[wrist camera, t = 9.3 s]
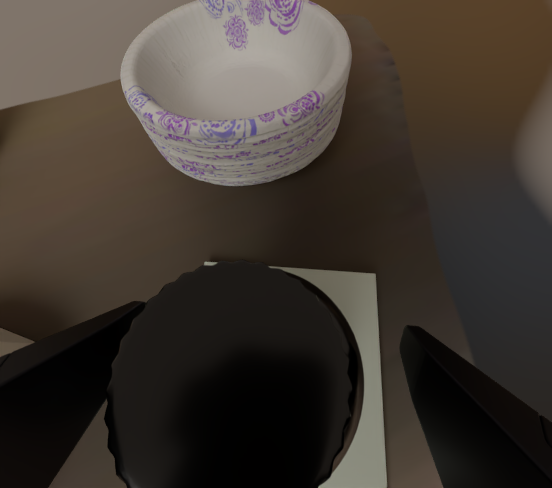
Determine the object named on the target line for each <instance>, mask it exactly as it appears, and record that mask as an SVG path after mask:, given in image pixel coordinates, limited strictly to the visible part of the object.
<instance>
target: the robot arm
mask: <svg viewBox="0 0 552 488" xmlns="http://www.w3.org/2000/svg"><path fill="white" fill-rule="evenodd" d="M145 305H146V303H145V302H141V301H133V302H130V303H128V304H126V305H123V306H121V307H118V308H116V309H114V310H111V311H109V312H106V313H104V314H102V315H99V316H97V317H94V318H92V319H90V320H87V321H85V322H82V323H80V324H78V325H75V326H73V327H71V328H68V329H66V330H63V331H61V332H59V333H56V334H54V335H51V336H49V337H47V338H44V339H42V340H39V341H37V342H35V343H32V344H30V345H27V346H25V347H23V348H20V349H18V350H15V351H13V352H12V353H8V354H6V355H3V356H1V357H0V488H48V487H49V485H50V484H51V482H52V481H53V479H54V478H55V476H56V475H57V473H58V472H59V470H60V469H61V467H62V466H63V464H64V463H65V461H66V460H67V458H68V457H69V455H70V454H71V452H72V451H73V449H74V448H75V446H76V445H77V443H78V442H79V440H80V438H81V437H82V435H83V434H84V432H85V431H86V429H87V428H88V426H89V425H90V423H91V422H92V420H93V419H94V417H95V416H96V414H97V413H98V411H99V410H100V408H101V407H102V405H103V404H104V402H105V401H106V399H107V398H106V388H107V386H108V383H109V381H110V379H111V364H112V362H113V361H114V359H115V357H116V356H117V354H118V353H119V346H120V341H121V339H122V338H123V337H124V336H125V335H126V333H127V332H128V331H129V330H130V327H131V323H132V321H133V319H134V318H135V317H136V316H137V315H138V314H139V313H141V312H142V311H143V309H144V307H145ZM400 354H401V358H402V362H403V366H404V370H405V375H406V379H407V383H408V387H409V391H410V395H411V398H412V401H413V404H414V407H415V410H416V413H417V416H418V418H419V421H420V424H421V427H422V429H423V432H424V435H425V438H426V440H427V443H428V446H429V449H430V452H431V454H432V457H433V460H434V463H435V465H436V468H437V471H438V474H439V477H440V479H441V482H442V485H443V488H552V422H551V421H549V420H548V419H547V418H545V417H544V416H542V415H541V416H540V415H539V413H538V412H537V411H535V410H534V409H532V408H531V407H530V406H528V405H527V404H526V403H524V402H523V401H522V400H520V399H519V398H517V397H516V396H515V395H513V394H512V393H511V392H509V391H508V390H506V389H505V388H503V387H502V386H501V385H499V384H498V383H497V382H495V381H494V380H492V379H491V378H490V377H488V376H487V375H486V374H484V373H483V372H482V371H480V370H479V369H477V368H476V367H475V366H473V365H472V364H471V363H469V362H468V361H466V360H465V359H464V358H462V357H461V356H459V355H458V354H457V353H455V352H454V351H453V350H451V349H450V348H448V347H447V346H446V345H444V344H443V343H442V342H440V341H439V340H437V339H436V338H435V337H433V336H432V335H431V334H429V333H428V332H426V331H425V330H424V329H422V328H421V327H419V326H410V325H407V326H405V328H404V330H403V334H402V338H401V342H400Z"/></svg>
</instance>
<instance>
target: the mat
mask: <svg viewBox="0 0 552 488" xmlns="http://www.w3.org/2000/svg"><path fill="white" fill-rule="evenodd" d="M215 264H216V262H205V264H204V265H215ZM268 267H270V268H278V269H282V270H283V271H286V272H289V273H292V274H295V275H297V276H300V277H302V278H304V279H306V280H307V281H309V282H311V283H312V284H314V285H315V286H317V287H318V288H319V289H321V290H322V291H323V292H324V293H325V294H326V295H327V296H328V297H330V298H331V300H332V301H333V302H334V303H335V304H336V305H337V306H338V308H339V309H340V310H341V312H342V313H343V315H344V316H345V318H346V320H347V321H348V323H349V325H350V327H351V329H352V331H353V333H354V335H355V338H356V341H357V343H358V347H359V350H360V354H361V358H362V364H363V371H364V400H363V408H362V413H361V418H360V421H359V425H358V429H357V431H356V434H355V437H354V439H353V442H352V444H351V446H350V448H349V450H348V452H347V453H346V455H345V457H344V458H343V460H342V461H341V463H340V464H339V466H338V467H337V468H336V469H335V471H334V472H333V473H332V474H331V477H330V478H329V479H328V480H327V481H326V482H325V483H323V484H322V485H320V486H319V487H318V488H387V476H386V458H385V439H384V421H383V402H382V384H381V366H380V347H379V329H378V310H377V292H376V274H372V273H357V272H343V271H329V270H315V269H301V268H287V267H273V266H268Z"/></svg>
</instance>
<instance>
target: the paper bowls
mask: <svg viewBox="0 0 552 488" xmlns="http://www.w3.org/2000/svg"><path fill="white" fill-rule="evenodd" d="M351 60H352V51H351V45H350V41H349V38H348V35H347V32H346V30H345V29H344V27H343V26H342V25H341V23H340V22H339V21H338V20H337V19H336V18H335V17H334V16H333V15H332V14H331V13H330V12H329V11H327V10H326V9H324V8H323V7H321V6H319V5H317V4H315V3H313V2H311V1H309V0H197V1H194V2H191V3H188V4H185V5H183V6H180V7H178V8H176V9H174V10H172V11H170V12H168V13H166V14H165V15H163V16H161V17H160V18H158V19H157V20H155V21H154V22H152V23H151V24H150V25H149V26H147V27H146V28H145V29H144V30H143V31H142V32H141V33H140V34H139V35H138V36H137V37H136V38H135V39H134V41H133V42H132V43H131V45H130V47H129V48H128V50H127V52H126V54H125V56H124V59H123V62H122V65H121V84H122V89H123V92H124V94H125V97H126V99H127V102H128V104H129V106H130V107H131V109H132V110H133V111H134V113H135V114H136V115H137V117H138V118H139V120H140V122H141V124H142V125H143V127H144V129H145V131H146V132H147V133H148V135H149V137H150V138H151V139H152V141H153V143H154V144H155V145H156V147H157V149H158V150H159V151H160V153H161V154H162V155H163V156H164V158H165V159H166V160H167V161H168V162H169V163H170V164H171V165H172V166H174V167H175V168H176V169H178V170H180V171H181V172H183V173H184V174H186V175H188V176H190V177H193V178H195V179H198V180H201V181H205V182H209V183H213V184H219V185H225V186H244V185H255V184H261V183H266V182H271V181H273V180H276V179H279V178H281V177H284V176H287V175H290V174H292V173H294V172H297V171H299V170H301V169H302V168H304V167H305V166H307V165H308V164H309V163H311V162H312V161H313V160H314V159H315V158H317V157H318V156H319V155H320V154H321V153H322V152H323V151H324V150H325V149H326V147H327V146H328V145H329V143H330V142H331V141H332V139H333V137H334V135H335V133H336V131H337V128H338V125H339V122H340V117H341V113H342V108H343V103H344V99H345V94H346V86H347V82H348V76H349V70H350V67H351Z"/></svg>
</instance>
